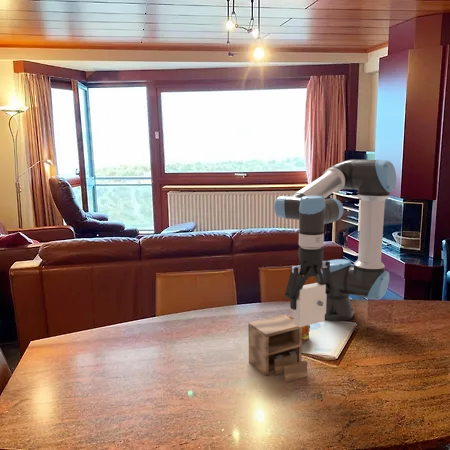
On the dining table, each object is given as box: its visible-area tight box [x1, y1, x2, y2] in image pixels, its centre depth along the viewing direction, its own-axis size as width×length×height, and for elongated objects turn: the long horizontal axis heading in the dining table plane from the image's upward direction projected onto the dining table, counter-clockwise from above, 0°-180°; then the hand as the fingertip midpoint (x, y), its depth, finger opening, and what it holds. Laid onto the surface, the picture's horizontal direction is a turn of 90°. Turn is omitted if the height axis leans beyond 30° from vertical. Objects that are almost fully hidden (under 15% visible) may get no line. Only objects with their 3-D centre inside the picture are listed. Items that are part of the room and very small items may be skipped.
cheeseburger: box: [288, 315, 311, 343], centre depth 164 cm, size 10×11×10 cm
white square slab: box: [293, 282, 326, 327], centre depth 138 cm, size 4×10×12 cm, turn 119°
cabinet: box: [248, 313, 308, 384], centre depth 144 cm, size 17×14×14 cm
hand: (309, 315), depth 140 cm, fingers closed on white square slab, 10 cm apart
